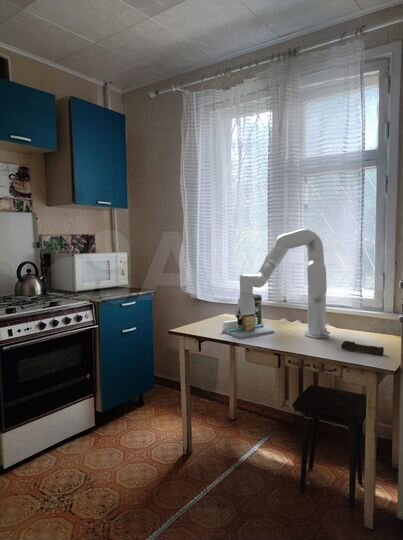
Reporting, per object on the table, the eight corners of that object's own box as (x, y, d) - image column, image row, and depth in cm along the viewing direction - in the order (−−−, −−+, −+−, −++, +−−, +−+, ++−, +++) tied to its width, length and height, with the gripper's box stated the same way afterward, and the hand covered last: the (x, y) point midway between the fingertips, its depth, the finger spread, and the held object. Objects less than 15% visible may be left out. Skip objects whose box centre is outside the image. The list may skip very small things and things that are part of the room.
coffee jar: (254, 325, 243) (253, 296, 242) (244, 323, 249) (244, 294, 248) (264, 322, 250) (263, 294, 248) (254, 320, 256) (254, 293, 254)
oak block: (255, 330, 224) (254, 316, 224) (246, 331, 221) (246, 317, 221) (246, 327, 231) (246, 314, 230) (238, 328, 228) (238, 315, 228)
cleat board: (274, 332, 223) (274, 322, 223) (240, 338, 211) (239, 328, 211) (255, 326, 239) (255, 317, 238) (222, 332, 227) (222, 322, 227)
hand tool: (384, 354, 181) (384, 344, 180) (382, 356, 177) (382, 346, 177) (342, 348, 192) (343, 339, 191) (340, 350, 189) (340, 340, 188)
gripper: (254, 293, 232) (254, 321, 233) (230, 295, 224) (230, 324, 225) (262, 294, 225) (262, 323, 227) (237, 297, 217) (238, 327, 219)
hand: (246, 324), depth 226 cm, fingers open, 9 cm apart
